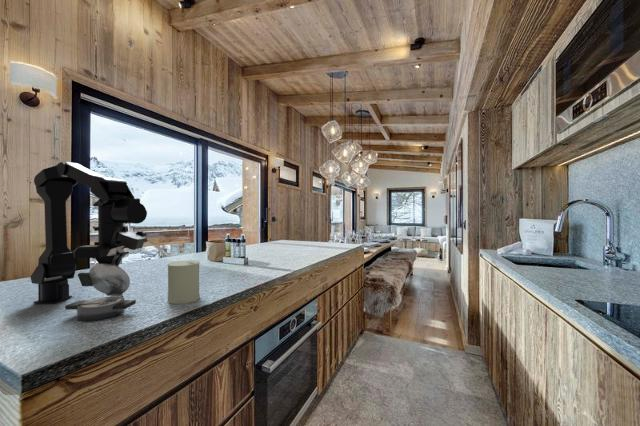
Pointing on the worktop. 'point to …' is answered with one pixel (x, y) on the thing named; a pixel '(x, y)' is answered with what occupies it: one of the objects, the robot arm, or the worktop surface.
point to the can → (183, 282)
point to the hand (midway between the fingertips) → (111, 278)
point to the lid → (106, 279)
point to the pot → (100, 308)
